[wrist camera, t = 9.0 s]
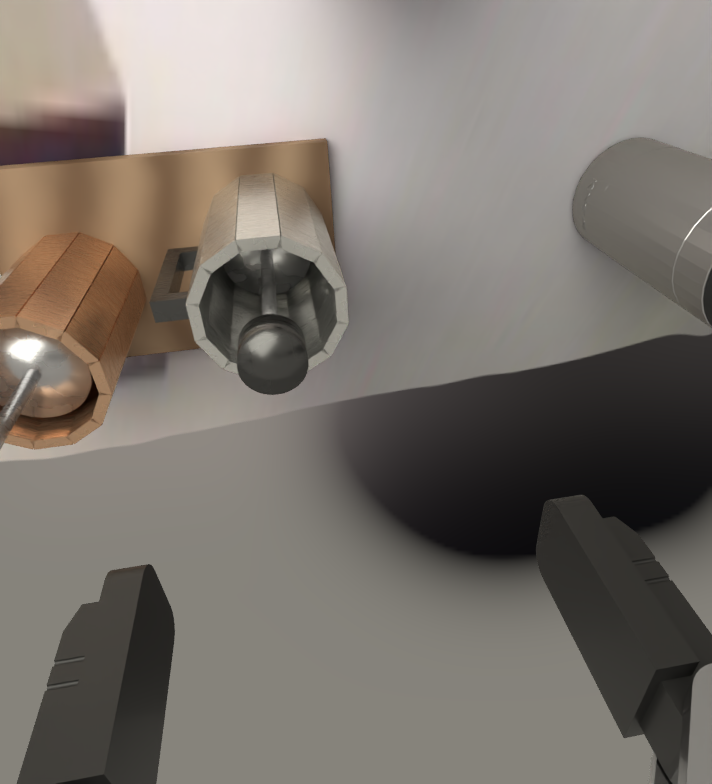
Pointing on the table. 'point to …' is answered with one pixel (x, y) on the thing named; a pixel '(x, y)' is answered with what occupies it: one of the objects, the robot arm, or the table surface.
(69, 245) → the copper carafe
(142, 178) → the board
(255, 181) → the steel carafe
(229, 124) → the table surface
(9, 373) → the black knob plunger
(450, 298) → the table surface
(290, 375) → the steel plunger
